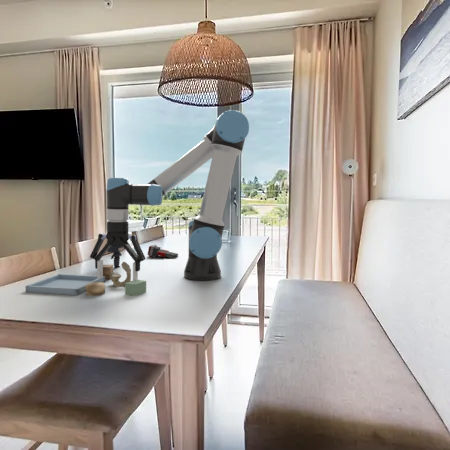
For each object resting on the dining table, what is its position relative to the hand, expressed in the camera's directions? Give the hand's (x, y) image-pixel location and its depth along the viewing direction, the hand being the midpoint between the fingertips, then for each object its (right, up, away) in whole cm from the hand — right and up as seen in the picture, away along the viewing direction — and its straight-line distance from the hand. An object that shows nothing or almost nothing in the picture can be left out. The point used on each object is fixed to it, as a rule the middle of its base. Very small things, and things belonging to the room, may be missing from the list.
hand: (117, 278), depth 135 cm
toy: (-10, 0, +32) cm, 34 cm away
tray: (-17, -2, -2) cm, 18 cm away
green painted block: (+9, -4, -9) cm, 13 cm away
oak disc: (-4, -3, -10) cm, 12 cm away
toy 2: (+6, +2, +61) cm, 61 cm away
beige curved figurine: (0, -3, 0) cm, 3 cm away
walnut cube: (-8, -2, +12) cm, 14 cm away
